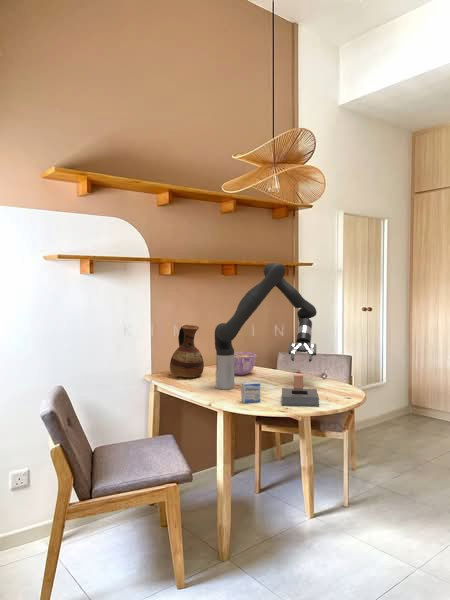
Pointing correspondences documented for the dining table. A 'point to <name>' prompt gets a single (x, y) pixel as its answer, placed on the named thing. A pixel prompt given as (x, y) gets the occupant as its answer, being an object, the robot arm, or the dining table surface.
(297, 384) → the square peg
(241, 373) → the bowl of food
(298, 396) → the square hole block
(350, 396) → the dining table surface
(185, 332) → the ceramic pitcher
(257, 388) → the medicine box
